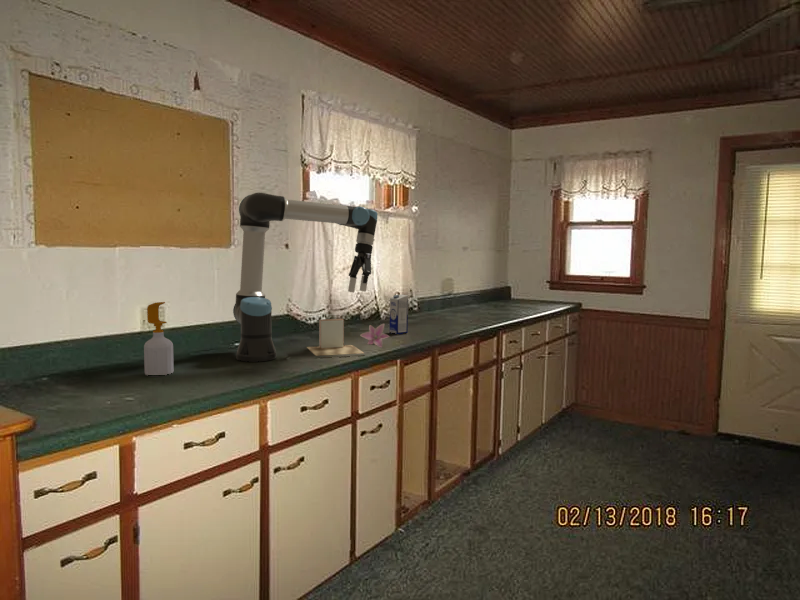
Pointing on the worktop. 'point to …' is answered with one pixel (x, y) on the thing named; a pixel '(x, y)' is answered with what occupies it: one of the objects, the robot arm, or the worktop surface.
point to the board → (335, 351)
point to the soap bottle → (157, 346)
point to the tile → (331, 333)
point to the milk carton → (399, 314)
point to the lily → (375, 335)
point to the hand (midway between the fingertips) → (356, 291)
